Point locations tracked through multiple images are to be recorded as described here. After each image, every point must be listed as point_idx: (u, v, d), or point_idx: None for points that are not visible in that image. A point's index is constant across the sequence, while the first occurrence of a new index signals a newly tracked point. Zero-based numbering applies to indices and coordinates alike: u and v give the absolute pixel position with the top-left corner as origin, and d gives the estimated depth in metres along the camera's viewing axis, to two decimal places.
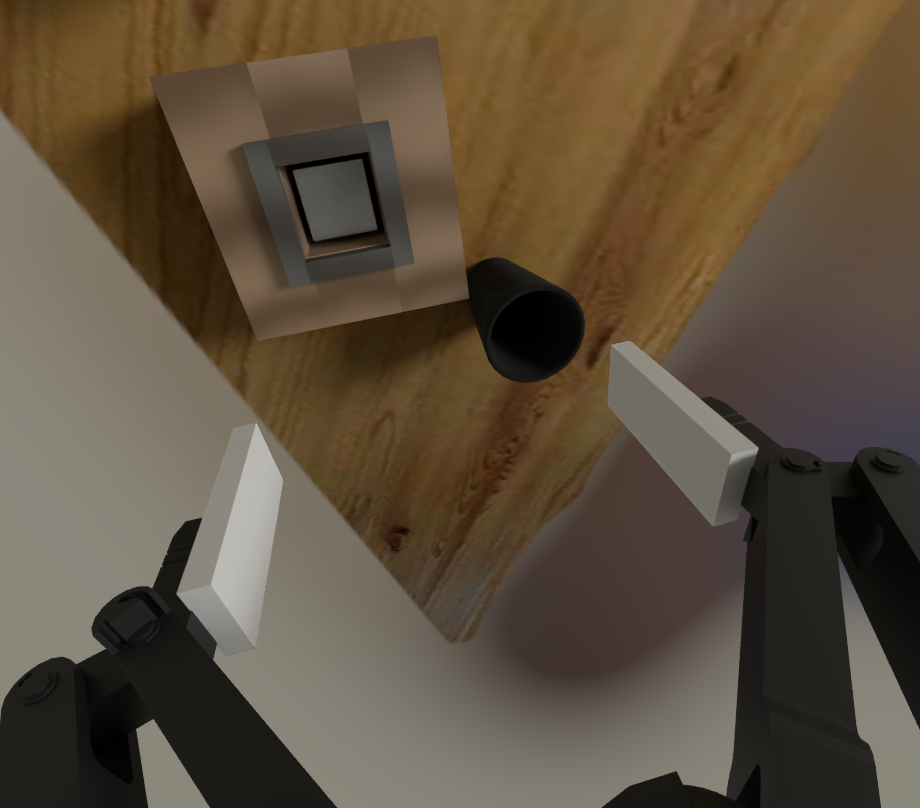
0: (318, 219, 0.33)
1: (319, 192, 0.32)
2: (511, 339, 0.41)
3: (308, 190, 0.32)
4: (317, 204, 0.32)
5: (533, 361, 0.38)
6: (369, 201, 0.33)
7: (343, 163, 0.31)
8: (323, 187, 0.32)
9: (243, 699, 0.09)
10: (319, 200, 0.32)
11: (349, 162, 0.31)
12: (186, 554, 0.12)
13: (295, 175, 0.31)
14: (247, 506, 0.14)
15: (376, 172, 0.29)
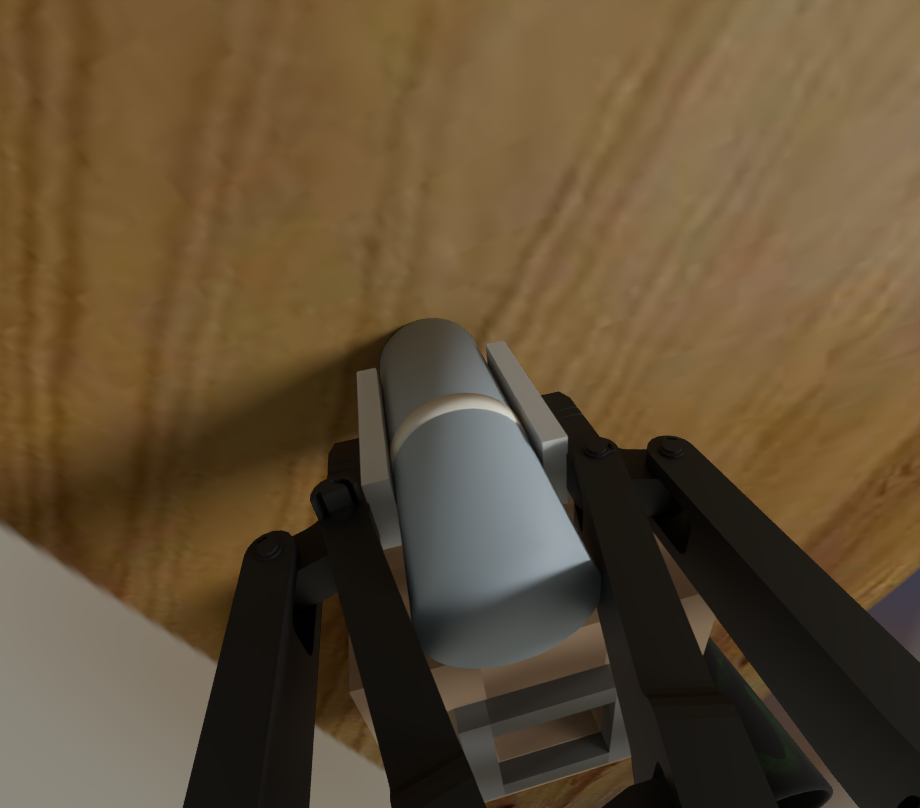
0: None
1: None
2: None
3: None
4: None
5: None
6: None
7: None
8: None
9: (400, 598, 0.10)
10: None
11: None
12: (346, 465, 0.14)
13: None
14: (386, 431, 0.16)
15: (615, 712, 0.22)
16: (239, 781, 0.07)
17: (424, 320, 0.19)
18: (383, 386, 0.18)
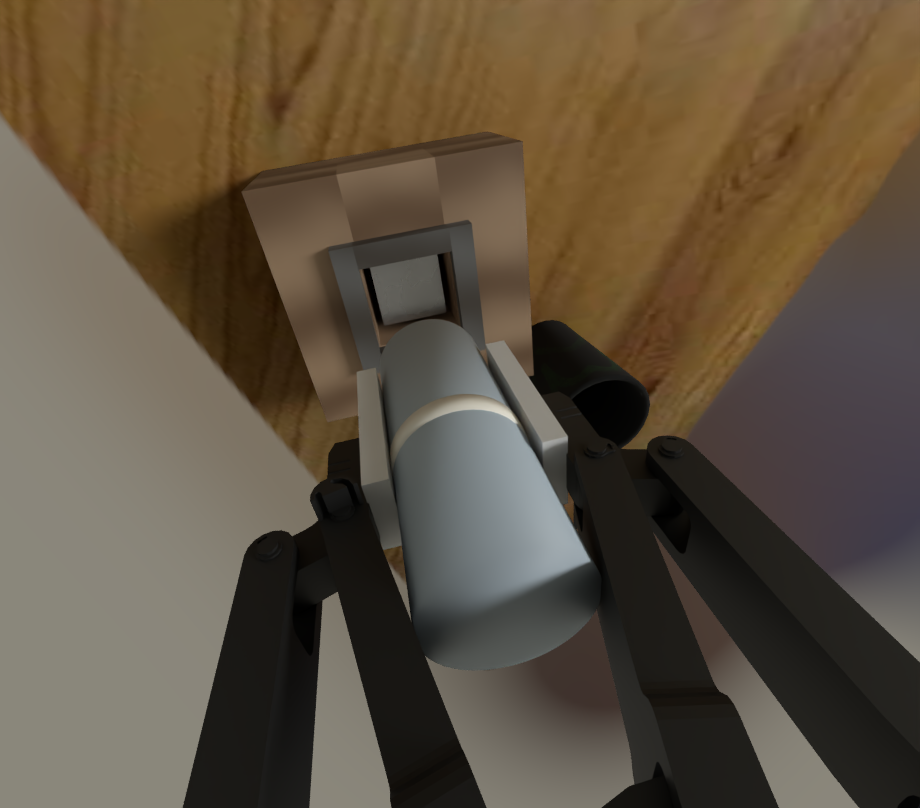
0: (390, 305, 0.33)
1: (393, 281, 0.32)
2: None
3: (382, 279, 0.32)
4: (390, 292, 0.32)
5: None
6: (440, 287, 0.33)
7: None
8: (397, 276, 0.32)
9: (400, 598, 0.10)
10: (392, 288, 0.32)
11: None
12: (346, 465, 0.14)
13: (371, 267, 0.31)
14: (386, 431, 0.16)
15: (456, 270, 0.29)
16: (239, 781, 0.07)
17: (424, 321, 0.19)
18: (383, 387, 0.18)
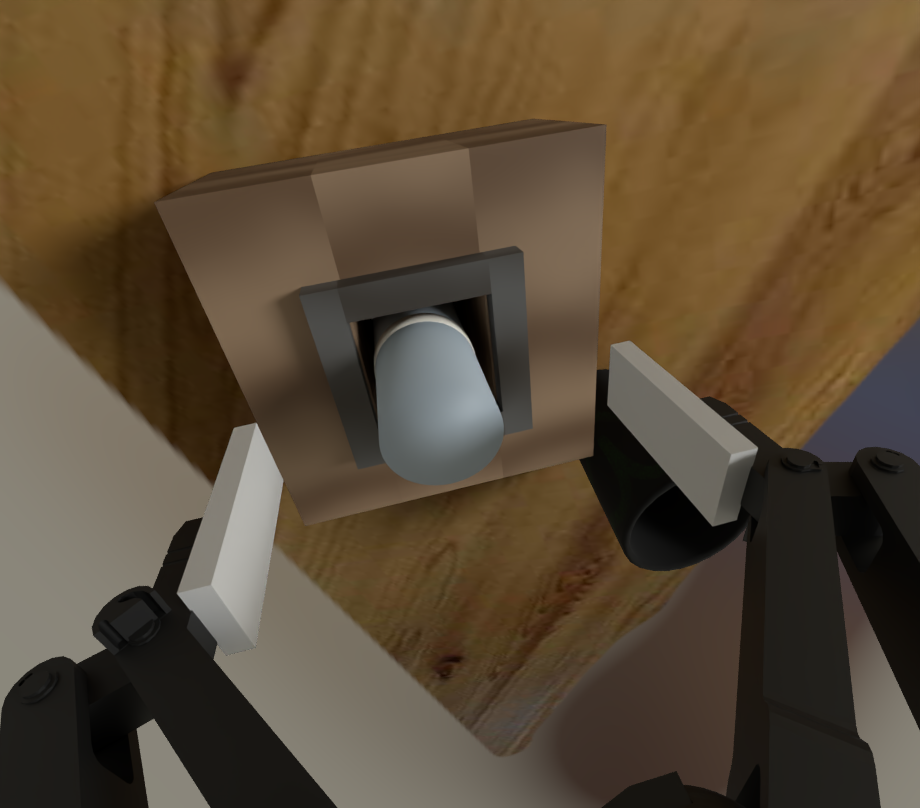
0: None
1: None
2: None
3: None
4: None
5: (670, 530, 0.28)
6: None
7: None
8: None
9: (244, 699, 0.09)
10: None
11: None
12: (186, 554, 0.12)
13: None
14: (247, 506, 0.14)
15: (496, 321, 0.19)
16: None
17: None
18: (373, 318, 0.24)
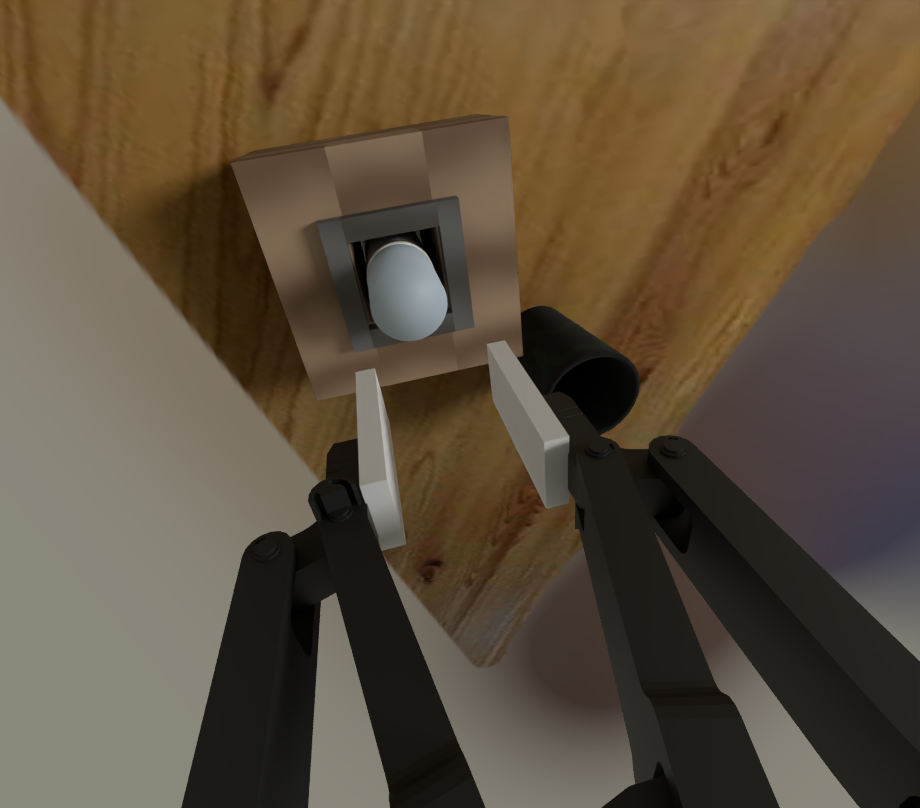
0: None
1: None
2: (559, 389, 0.42)
3: None
4: None
5: (585, 415, 0.38)
6: None
7: None
8: None
9: (398, 598, 0.10)
10: None
11: None
12: (344, 466, 0.14)
13: None
14: (384, 432, 0.16)
15: (443, 245, 0.30)
16: (237, 782, 0.07)
17: None
18: (365, 253, 0.34)
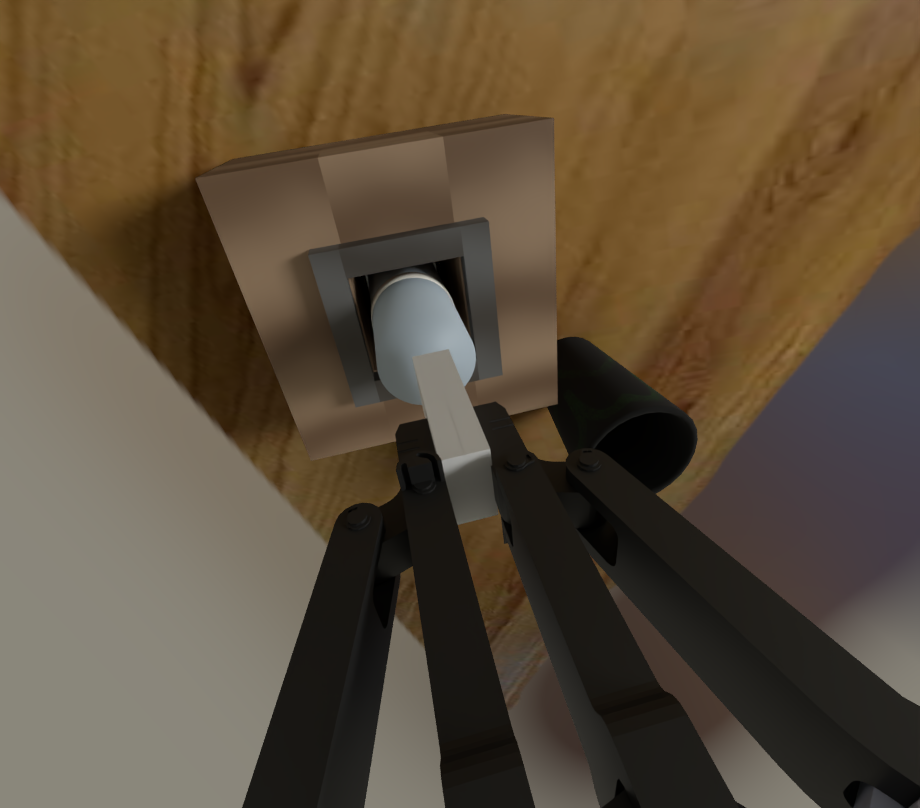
0: None
1: None
2: None
3: None
4: None
5: None
6: None
7: None
8: None
9: (470, 578, 0.10)
10: None
11: None
12: (415, 444, 0.15)
13: None
14: None
15: (468, 279, 0.24)
16: (312, 737, 0.08)
17: None
18: (369, 283, 0.28)
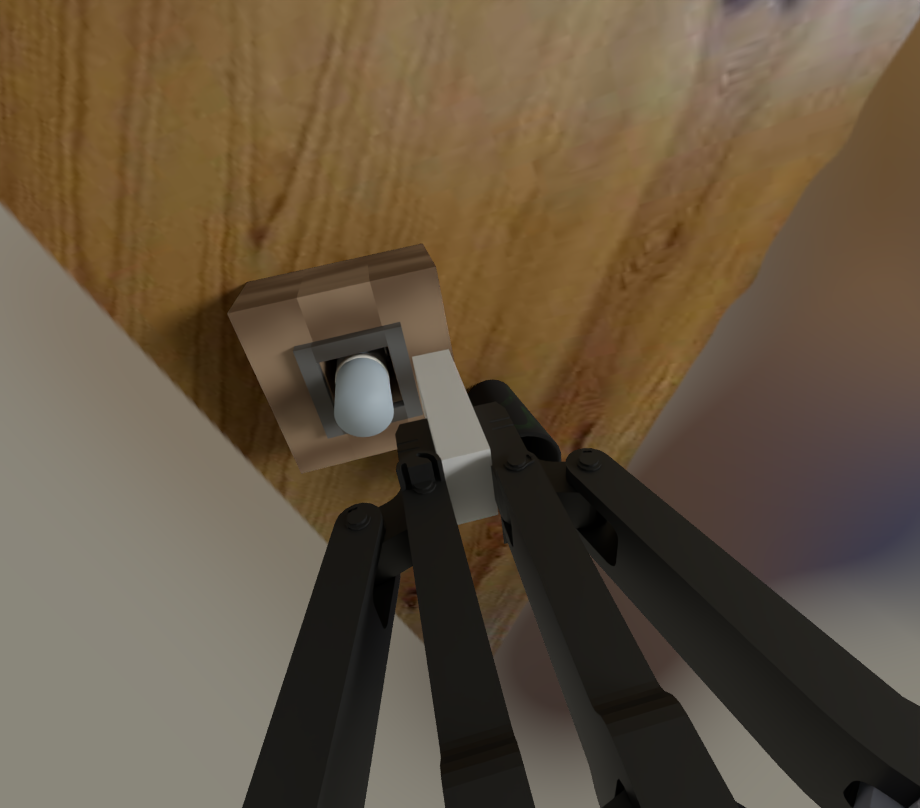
0: None
1: None
2: None
3: None
4: None
5: None
6: None
7: None
8: None
9: (470, 578, 0.10)
10: None
11: None
12: (414, 444, 0.15)
13: None
14: None
15: (392, 359, 0.38)
16: (312, 737, 0.08)
17: None
18: None
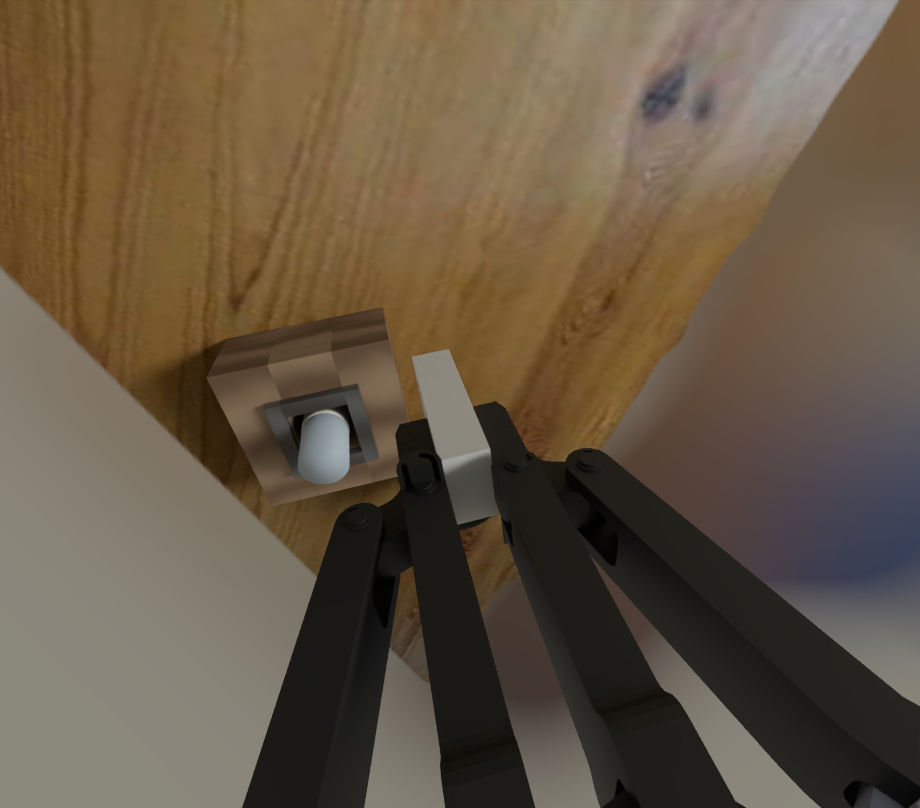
0: None
1: None
2: None
3: None
4: None
5: None
6: None
7: None
8: None
9: (470, 577, 0.10)
10: None
11: None
12: (414, 444, 0.15)
13: None
14: None
15: (351, 414, 0.44)
16: (312, 737, 0.08)
17: None
18: None
